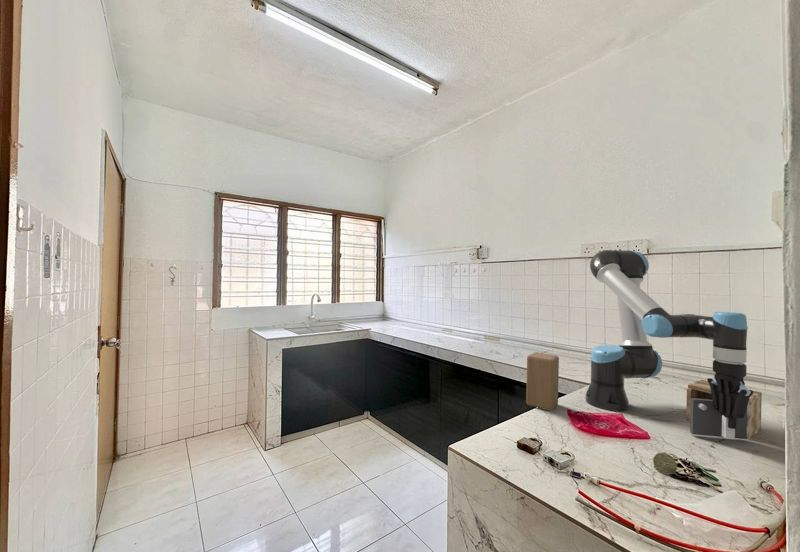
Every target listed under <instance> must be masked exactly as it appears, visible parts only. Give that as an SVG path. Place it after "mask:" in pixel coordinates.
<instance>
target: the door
mask: <svg viewBox="0 0 800 552" xmlns="http://www.w3.org/2000/svg"><path fill="white" fill-rule="evenodd" d="M748 416H750V405H747V409H746V412H745V416H744V418H737V420H736V429H735V439H740V440H748V439H747V437H750V427H749V426H747V423H748ZM689 424H690V426H689V433H690V434H691V435H693V436H694V435H695V436H696V435H697V436H708V437H716V438H718V437H719V438H723V437H722V424H721V414H720V413H719V411H718V410H715V409H714V405H713V400H709V399H696V398H691V412H690V422H689Z"/></svg>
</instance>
